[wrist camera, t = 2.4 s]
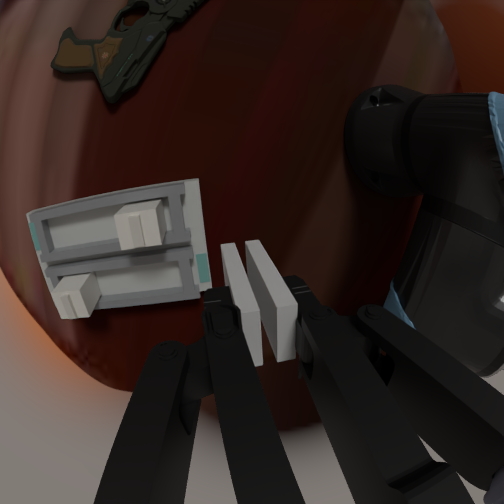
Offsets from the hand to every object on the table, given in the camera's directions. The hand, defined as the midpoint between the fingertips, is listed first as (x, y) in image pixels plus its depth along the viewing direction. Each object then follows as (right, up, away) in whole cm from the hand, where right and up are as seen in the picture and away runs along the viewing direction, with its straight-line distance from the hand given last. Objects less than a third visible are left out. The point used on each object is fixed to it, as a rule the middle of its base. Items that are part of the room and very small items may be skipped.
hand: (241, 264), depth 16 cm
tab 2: (-11, +5, +12) cm, 17 cm away
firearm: (-11, +31, +4) cm, 33 cm away
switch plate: (-16, +1, +14) cm, 21 cm away
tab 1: (-20, -3, +13) cm, 24 cm away
